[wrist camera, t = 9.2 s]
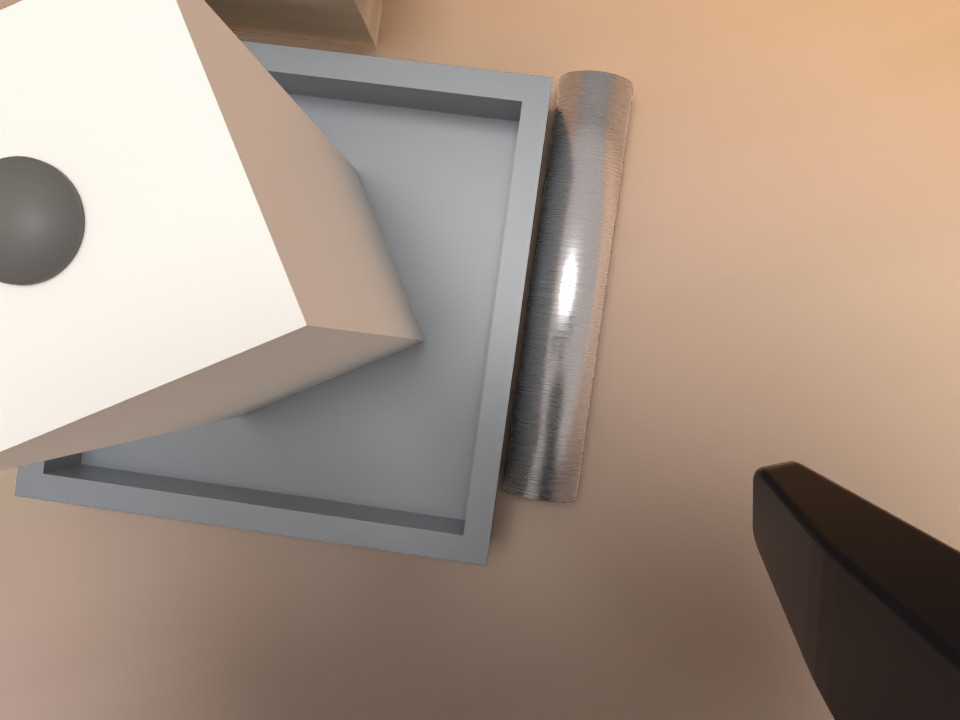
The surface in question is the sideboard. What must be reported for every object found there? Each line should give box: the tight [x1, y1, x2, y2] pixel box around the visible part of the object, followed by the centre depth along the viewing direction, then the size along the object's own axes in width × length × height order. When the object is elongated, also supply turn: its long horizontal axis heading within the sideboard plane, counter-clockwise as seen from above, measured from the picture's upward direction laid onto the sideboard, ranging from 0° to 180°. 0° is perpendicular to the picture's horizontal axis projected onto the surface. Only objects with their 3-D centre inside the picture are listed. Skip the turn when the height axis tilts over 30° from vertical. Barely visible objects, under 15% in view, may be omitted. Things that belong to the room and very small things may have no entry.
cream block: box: [0, 0, 425, 471], centre depth 14 cm, size 4×5×11 cm
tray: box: [15, 41, 553, 566], centre depth 19 cm, size 11×11×2 cm
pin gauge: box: [503, 71, 634, 502], centre depth 20 cm, size 10×2×2 cm
